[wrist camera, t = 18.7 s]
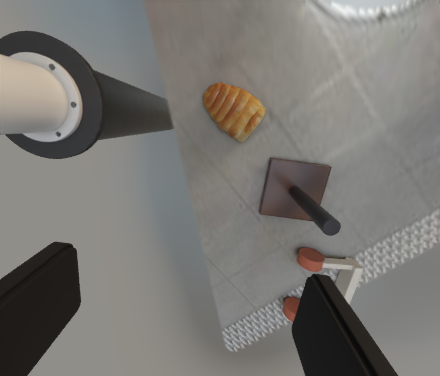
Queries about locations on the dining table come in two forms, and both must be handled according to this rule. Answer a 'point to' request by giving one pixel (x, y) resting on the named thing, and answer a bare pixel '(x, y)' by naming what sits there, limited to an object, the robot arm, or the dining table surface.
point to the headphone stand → (297, 193)
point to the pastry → (233, 110)
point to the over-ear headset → (316, 262)
